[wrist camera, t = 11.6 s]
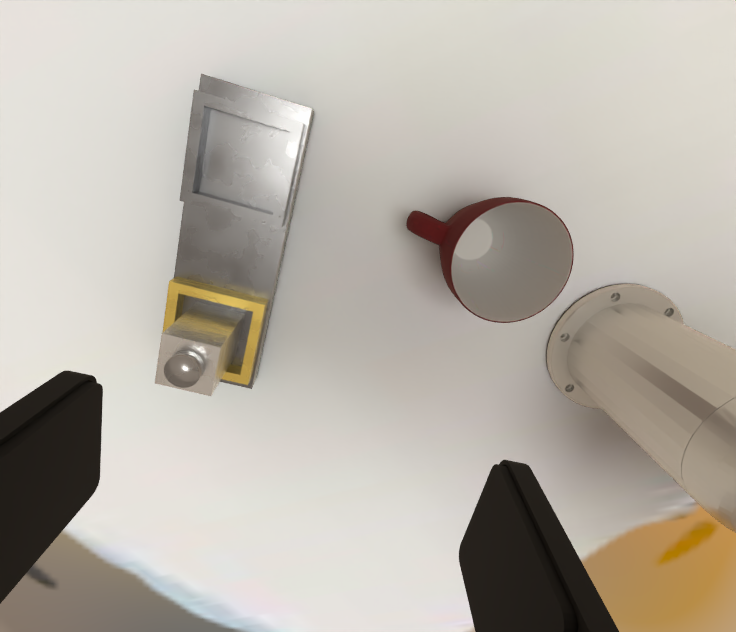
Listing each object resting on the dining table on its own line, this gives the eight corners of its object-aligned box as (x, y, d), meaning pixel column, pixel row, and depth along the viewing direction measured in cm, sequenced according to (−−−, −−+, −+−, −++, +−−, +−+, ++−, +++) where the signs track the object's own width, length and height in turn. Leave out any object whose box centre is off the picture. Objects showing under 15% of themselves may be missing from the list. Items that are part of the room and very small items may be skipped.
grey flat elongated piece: (314, 111, 32) (310, 105, 29) (256, 378, 40) (247, 397, 37) (210, 78, 31) (193, 69, 28) (171, 358, 39) (154, 376, 36)
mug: (386, 267, 37) (398, 302, 27) (410, 172, 34) (432, 176, 25) (498, 291, 38) (547, 334, 29) (530, 202, 35) (594, 216, 26)
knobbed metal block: (244, 313, 36) (216, 353, 28) (236, 354, 37) (206, 403, 30) (197, 301, 35) (155, 339, 28) (190, 343, 36) (148, 390, 29)
